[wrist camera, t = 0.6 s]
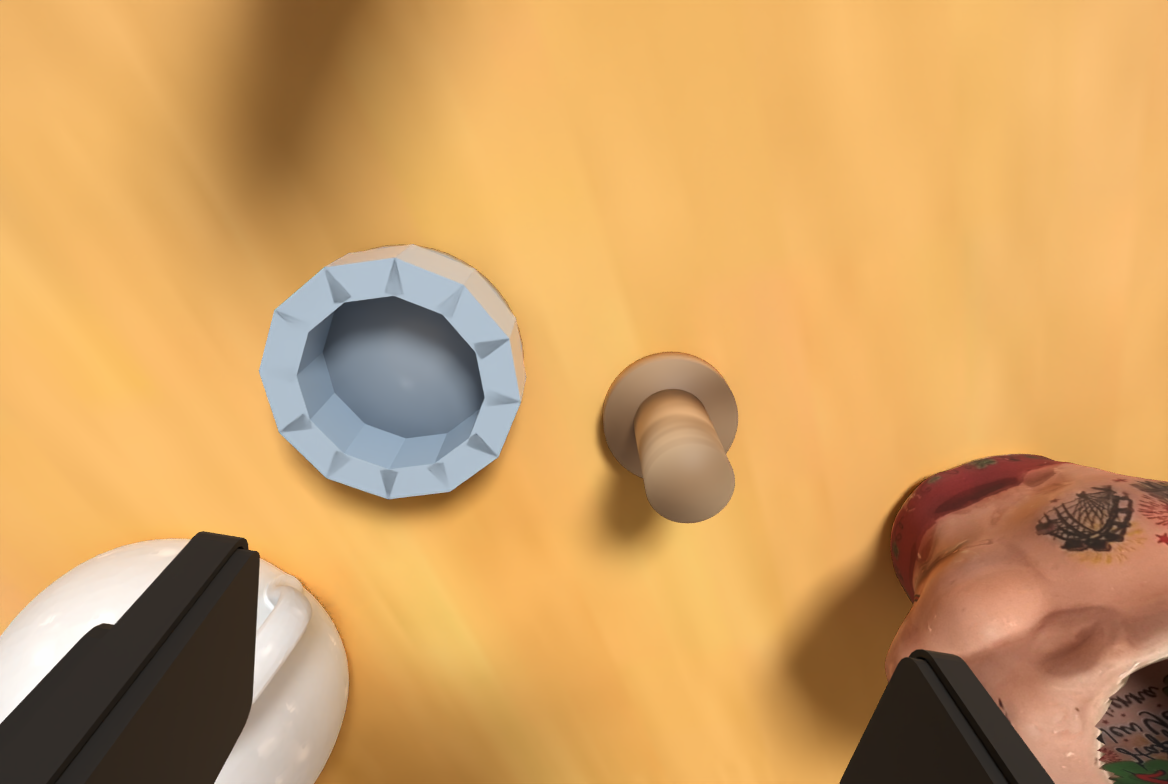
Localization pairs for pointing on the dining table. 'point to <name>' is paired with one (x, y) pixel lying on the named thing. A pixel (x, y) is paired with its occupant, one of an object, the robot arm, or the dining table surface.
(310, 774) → the teapot
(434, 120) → the dining table surface
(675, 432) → the lid
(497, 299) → the blue faceted bowl
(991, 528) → the sculpted mug
